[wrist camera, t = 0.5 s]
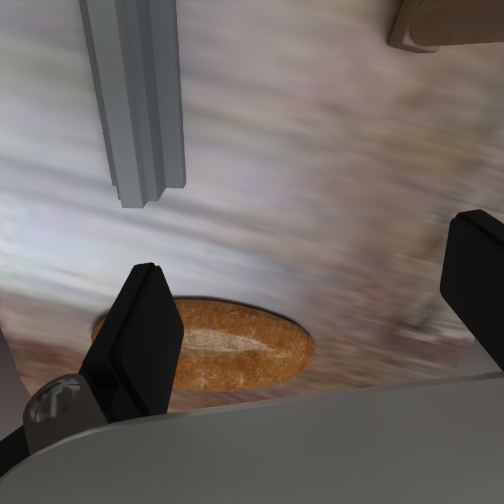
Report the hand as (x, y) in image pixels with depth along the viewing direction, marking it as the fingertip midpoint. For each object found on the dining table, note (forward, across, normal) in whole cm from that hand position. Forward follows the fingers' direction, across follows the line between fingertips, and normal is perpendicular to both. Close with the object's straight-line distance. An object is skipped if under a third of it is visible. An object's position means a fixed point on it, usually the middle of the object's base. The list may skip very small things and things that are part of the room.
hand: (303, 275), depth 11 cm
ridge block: (+29, +12, -6) cm, 32 cm away
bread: (+29, +14, +31) cm, 45 cm away
